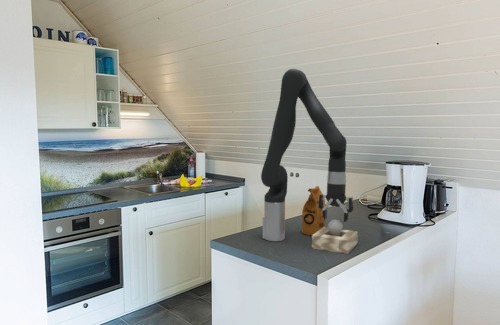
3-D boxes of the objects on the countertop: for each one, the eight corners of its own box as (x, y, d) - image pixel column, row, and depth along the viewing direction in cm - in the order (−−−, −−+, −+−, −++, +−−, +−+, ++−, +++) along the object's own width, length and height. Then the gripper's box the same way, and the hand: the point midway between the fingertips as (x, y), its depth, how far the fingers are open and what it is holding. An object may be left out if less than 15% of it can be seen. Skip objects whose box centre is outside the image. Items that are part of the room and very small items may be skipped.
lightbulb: (326, 246, 154) (326, 220, 153) (328, 241, 159) (329, 217, 158) (341, 247, 151) (341, 221, 150) (343, 243, 157) (343, 218, 156)
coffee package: (298, 234, 173) (298, 188, 171) (309, 228, 183) (310, 184, 181) (318, 237, 168) (318, 189, 166) (328, 231, 178) (329, 186, 176)
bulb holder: (311, 248, 152) (312, 235, 152) (323, 238, 165) (323, 226, 165) (347, 254, 145) (348, 240, 144) (357, 244, 158) (357, 231, 157)
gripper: (317, 181, 153) (316, 219, 155) (351, 184, 146) (349, 224, 148) (322, 179, 160) (321, 216, 161) (355, 182, 153) (354, 220, 154)
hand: (335, 220), depth 154 cm, fingers open, 8 cm apart
